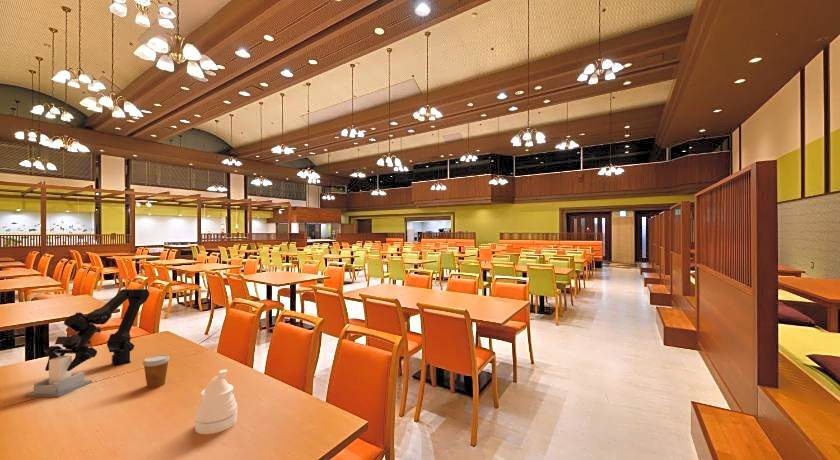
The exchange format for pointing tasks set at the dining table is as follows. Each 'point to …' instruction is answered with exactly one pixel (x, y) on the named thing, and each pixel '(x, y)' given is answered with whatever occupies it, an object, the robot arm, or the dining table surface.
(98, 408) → the dining table surface
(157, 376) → the disposable coffee cup
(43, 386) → the slot rack
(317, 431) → the dining table surface
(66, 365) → the cream block
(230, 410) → the honey pot
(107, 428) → the dining table surface
